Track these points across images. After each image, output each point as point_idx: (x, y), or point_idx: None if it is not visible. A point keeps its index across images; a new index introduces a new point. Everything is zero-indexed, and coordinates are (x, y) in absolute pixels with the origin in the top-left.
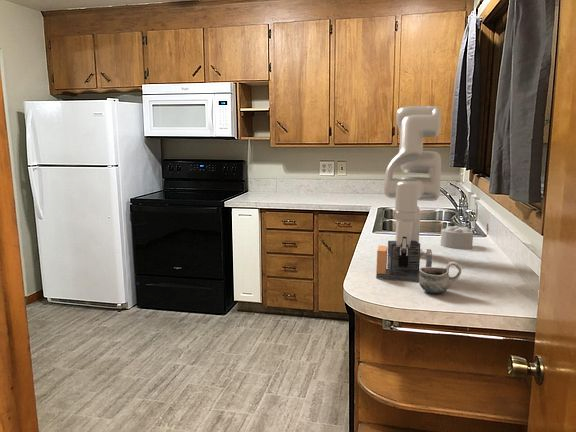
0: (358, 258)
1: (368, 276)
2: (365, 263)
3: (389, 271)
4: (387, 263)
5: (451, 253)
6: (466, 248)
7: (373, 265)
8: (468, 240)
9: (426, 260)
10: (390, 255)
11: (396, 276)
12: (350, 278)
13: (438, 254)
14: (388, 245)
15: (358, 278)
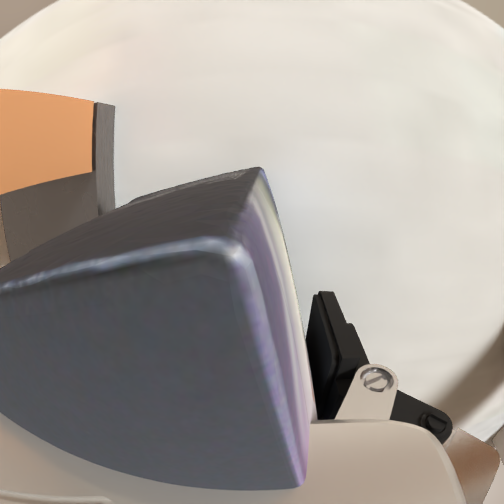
0: (454, 5)
1: (36, 83)
2: (350, 8)
3: (46, 201)
4: (255, 169)
5: (481, 426)
6: (495, 437)
7: (307, 55)
8: (501, 454)
9: None
10: (81, 225)
11: (9, 244)
12: (17, 28)
13: (488, 404)
14: (144, 215)
15: (14, 56)
